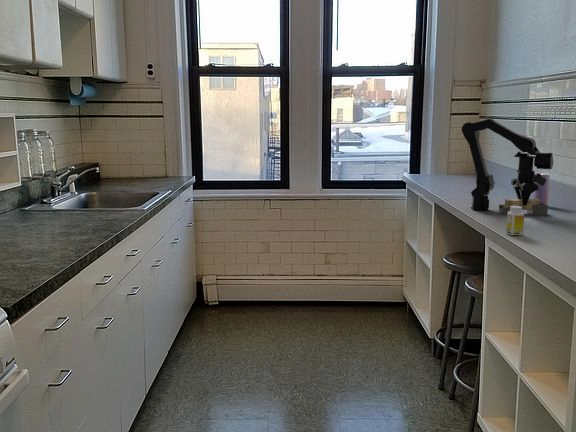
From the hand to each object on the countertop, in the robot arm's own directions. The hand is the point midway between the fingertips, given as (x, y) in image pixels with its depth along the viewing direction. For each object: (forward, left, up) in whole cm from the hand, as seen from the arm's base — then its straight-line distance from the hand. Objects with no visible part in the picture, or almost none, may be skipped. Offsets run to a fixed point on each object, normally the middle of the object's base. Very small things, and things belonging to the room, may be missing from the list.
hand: (523, 204), depth 248 cm
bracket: (+6, 0, -4) cm, 7 cm away
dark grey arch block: (-7, 0, -4) cm, 8 cm away
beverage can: (+14, +21, -4) cm, 26 cm away
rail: (0, 0, -2) cm, 2 cm away
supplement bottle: (-15, -43, -4) cm, 46 cm away
